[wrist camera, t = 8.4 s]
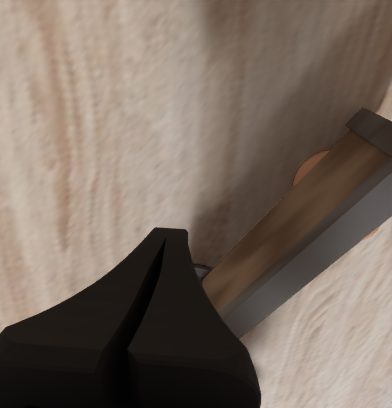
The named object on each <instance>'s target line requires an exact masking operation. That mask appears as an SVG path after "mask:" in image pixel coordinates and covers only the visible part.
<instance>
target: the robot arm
mask: <svg viewBox="0 0 392 408" xmlns="http://www.w3.org/2000/svg"><path fill="white" fill-rule="evenodd" d="M260 405H261V391H260V387H259V382H258V378H257V375H256V372H255V369H254V366H253V363H252V360H251V358H250V355H249V352H248V350H247V348H246V347H245V346H244V345H243V344H242V343H241V341H240V340H239V339H238V338H237V337H236V336H235V335H234V333H233V332H232V331H231V330H230V328H229V327H228V326H227V325H226V323H225V322H224V321H223V319H222V318H221V316H220V315H219V313H218V312H217V310H216V309H215V307H214V306H213V304H212V303H211V301H210V299H209V298H208V296H207V294H206V292H205V290H204V288H203V287H202V285H201V282H200V280H199V278H198V276H197V273H196V270H195V268H194V265H193V262H192V259H191V255H190V252H189V247H188V232H187V231H186V230H185V229H173V228H157V227H155V228H154V229H153V230H152V231H151V232H150V233H149V234H148V236H147V237H146V238H145V239H144V240H143V241H142V242H141V243H140V244H139V245H138V246H137V247H136V248H135V249H134V250H133V251H132V252H131V253H130V254H129V255H128V256H127V257H126V258H125V259H124V260H123V261H121V262H120V263H119V264H118V265H117V266H116V267H115V268H113V269H112V270H111V271H110V272H109V273H107V274H106V275H105V276H103V277H102V278H101V279H99V280H98V281H96V282H95V283H94V284H92V285H90V286H89V287H87V288H86V289H84V290H82V291H81V292H79V293H77V294H76V295H74V296H72V297H71V298H69V299H67V300H65V301H63V302H61V303H60V304H58V305H56V306H54V307H52V308H50V309H48V310H46V311H43V312H41V313H39V314H37V315H34V316H32V317H30V318H27V319H25V320H22V321H20V322H18V323H15V324H13V325H10V326H8V327H5V329H4V330H3V331H2V332H1V333H0V408H260Z"/></svg>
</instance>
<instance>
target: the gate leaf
mask: <svg viewBox="0 0 392 408" xmlns="http://www.w3.org/2000/svg"><path fill="white" fill-rule="evenodd" d="M346 126H347V127H348V128H350V130H349V131H348V132H347V133H346V134H345V136H344V137H343V138H342V139H341V140H340V141H339V142H338V143H337V144H336V145H335V146H334V147H333V148H332V149H331V150H330V151H329V152H328V153H327V154H326V155H325V156H324V157H323V158H322V159H321V160H320V161H319V162H318V163H317V164H316V165H315V166H314V167H313V168H312V169H311V170H310V171H309V172H308V173H307V174H306V175H305V176H304V177H303V178H302V179H301V180H300V181H299V182H298V183H297V184H296V185H295V186H294V187H293V188H292V189H291V190H290V191H289V193H288V194H287V195H286V196H285V197H284V198H283V199H282V200H281V201H280V202H279V203H278V204H277V205H276V206H275V207H274V208H273V209H272V210H271V211H270V212H269V213H268V214H267V215H266V216H265V217H264V218H263V219H262V220H261V221H260V222H259V223H258V224H257V225H256V226H255V227H254V228H253V229H252V230H251V231H250V232H249V233H248V234H247V235H246V236H245V237H244V238H243V239H242V240H241V241H240V242H239V243H238V244H237V245H236V246H235V247H234V248H233V249H232V251H231V252H230V253H229V254H228V255H227V256H226V257H225V258H224V259H223V260H222V261H221V262H220V263H219V264H218V265H217V266H216V267H215V268H214V269H213V270H212V271H211V272H210V273H209V274H208V275H207V276H206V277H205V278H204V279H203V288H204V290H205V292H206V294H207V296H208V298H209V299H210V301H211V303H212V304H213V306H214V307H215V309H216V310H217V312H218V313H219V315H220V316H221V318H222V319H223V321H224V322H225V323H226V325H227V326H228V327H229V328H230V330H231V331H232V332H233V333H234V335H235V336H236V337H237V338H238V339H240V338H241V337H242V336H243V335H245V334H246V333H247V332H248V331H250V330H251V329H252V328H253V327H255V326H256V325H257V324H258V323H260V322H261V321H262V320H263V319H265V318H266V317H267V316H268V315H270V314H271V313H272V312H273V311H274V310H276V309H277V308H278V307H279V306H281V305H282V304H283V303H284V302H286V301H287V300H288V299H289V298H291V297H292V296H293V295H294V294H296V293H297V292H298V291H299V290H301V289H302V288H303V287H304V286H305V285H307V284H308V283H309V282H310V281H312V280H313V279H314V278H315V277H317V276H318V275H319V274H320V273H322V272H323V271H324V270H325V269H327V268H328V267H329V266H330V265H332V264H333V263H334V262H335V261H337V260H338V259H339V258H340V257H341V256H343V255H344V254H345V253H346V252H348V251H349V250H350V249H351V248H353V247H354V246H355V245H356V244H358V243H359V242H360V241H361V240H363V239H364V238H365V237H366V236H368V235H369V234H370V233H371V232H373V231H374V230H375V229H376V228H377V227H379V226H380V225H381V224H382V223H384V222H385V221H386V220H387V219H389V218H390V217H391V216H392V121H390V120H388V119H386V118H384V117H382V116H379V115H377V114H375V113H373V112H371V111H369V110H367V109H365V108H362V109H361V110H360V111H359V112H358V113H357V114H356V115H355V116H354V117H353V118H352V119H351V120H350V121H349V122H348V123H347V124H346Z"/></svg>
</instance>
